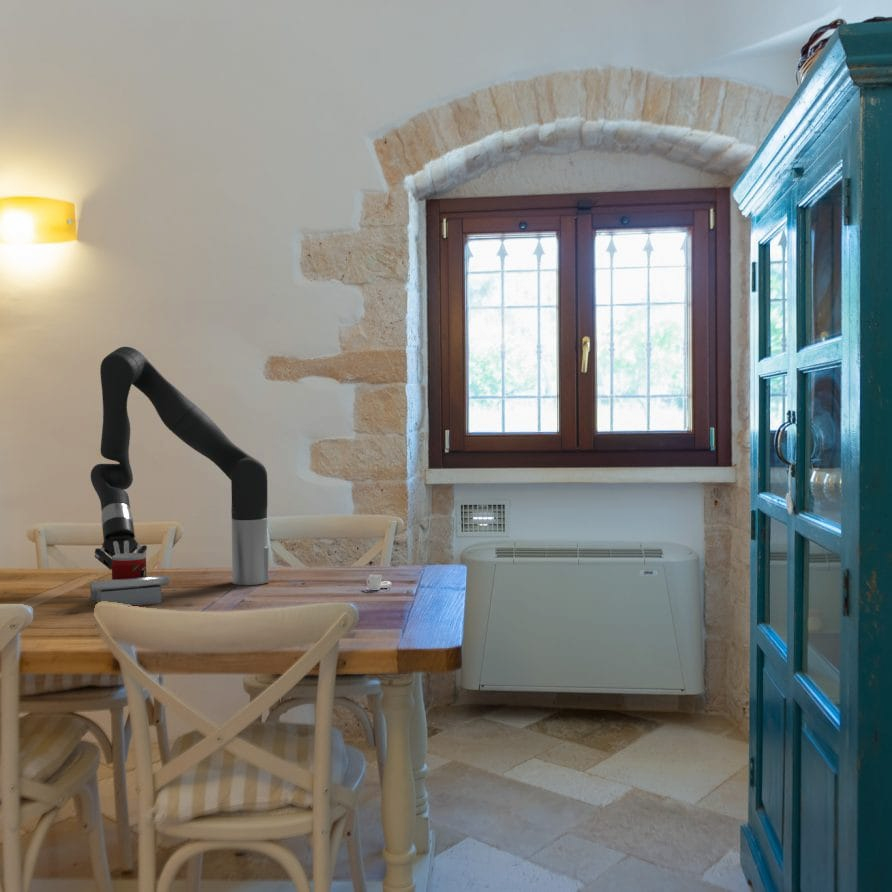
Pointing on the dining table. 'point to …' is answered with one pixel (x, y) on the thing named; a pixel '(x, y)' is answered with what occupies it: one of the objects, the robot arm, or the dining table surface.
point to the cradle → (129, 590)
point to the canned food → (128, 566)
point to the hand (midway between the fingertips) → (124, 580)
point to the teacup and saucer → (377, 582)
